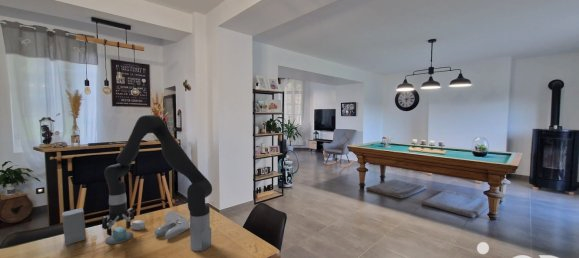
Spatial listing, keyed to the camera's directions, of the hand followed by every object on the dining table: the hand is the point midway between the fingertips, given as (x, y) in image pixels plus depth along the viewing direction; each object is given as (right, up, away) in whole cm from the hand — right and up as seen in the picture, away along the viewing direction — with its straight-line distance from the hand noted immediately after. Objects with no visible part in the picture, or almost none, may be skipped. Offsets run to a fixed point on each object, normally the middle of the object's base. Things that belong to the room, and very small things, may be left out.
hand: (119, 231), depth 127 cm
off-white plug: (+3, -3, +11) cm, 12 cm away
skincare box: (-21, -4, -2) cm, 22 cm away
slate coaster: (0, -4, 0) cm, 4 cm away
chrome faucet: (+22, -4, +10) cm, 24 cm away
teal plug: (0, -3, 0) cm, 3 cm away
